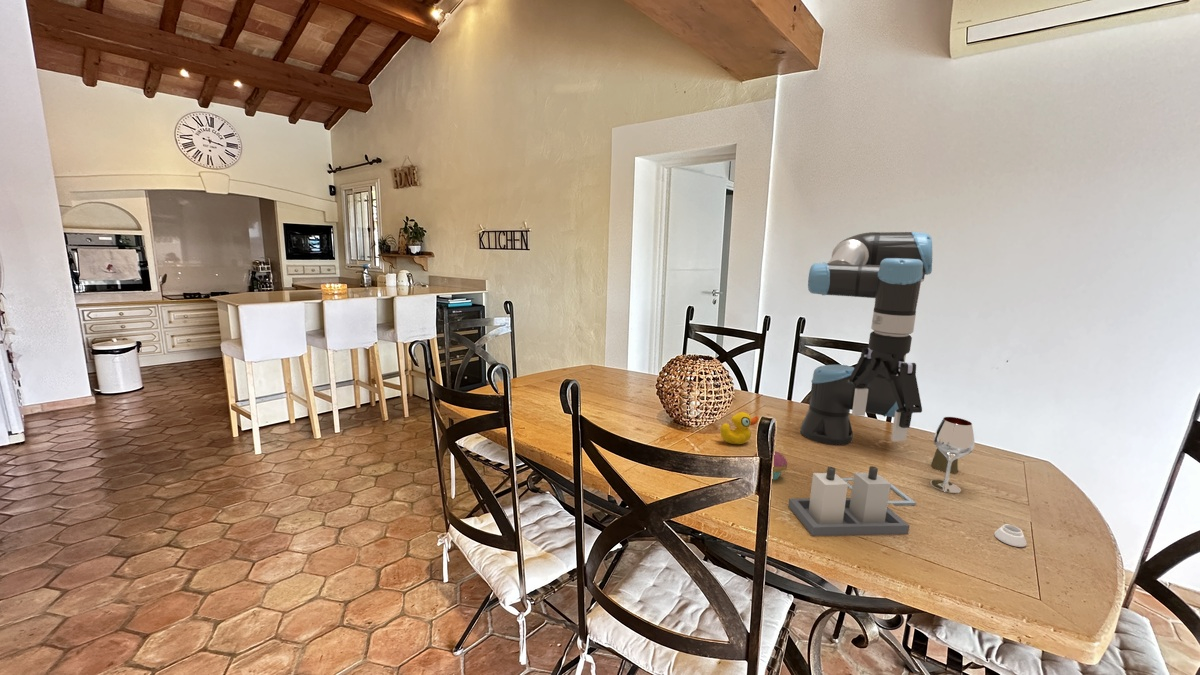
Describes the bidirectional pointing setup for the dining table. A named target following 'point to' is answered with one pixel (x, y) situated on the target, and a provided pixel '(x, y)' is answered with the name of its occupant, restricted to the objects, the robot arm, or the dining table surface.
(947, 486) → the wineglass
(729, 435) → the duckling
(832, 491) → the white plug
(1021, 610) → the dining table surface
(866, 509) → the white block with peg
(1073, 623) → the dining table surface
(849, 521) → the two-slot grey rack
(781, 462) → the cupcake
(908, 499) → the square frame
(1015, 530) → the white short tapered ring
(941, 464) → the cork
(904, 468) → the dining table surface
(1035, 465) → the dining table surface
